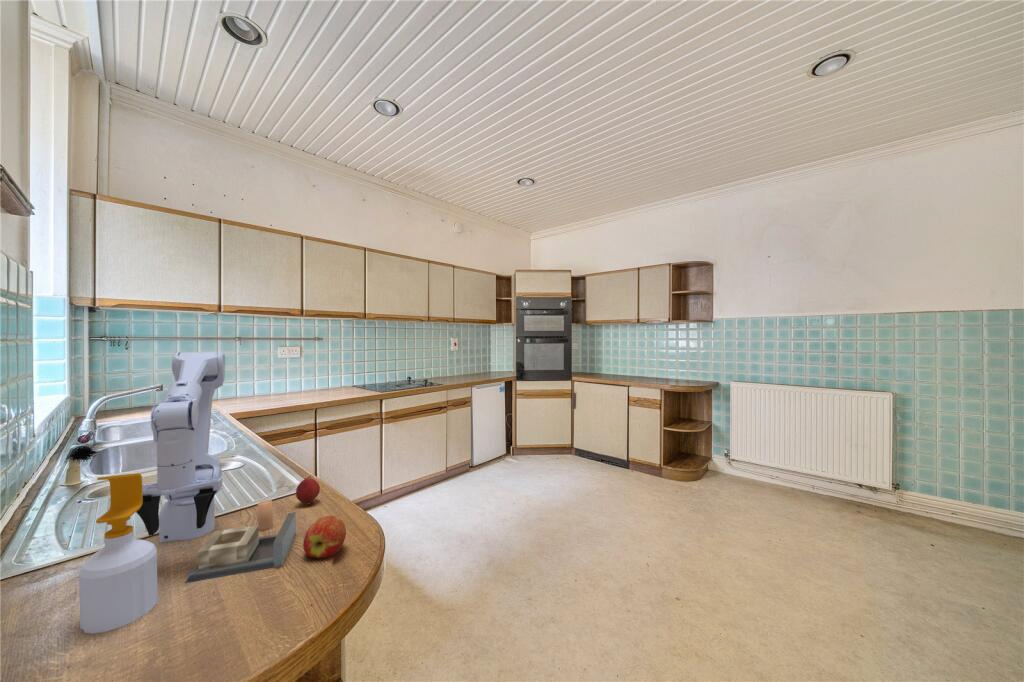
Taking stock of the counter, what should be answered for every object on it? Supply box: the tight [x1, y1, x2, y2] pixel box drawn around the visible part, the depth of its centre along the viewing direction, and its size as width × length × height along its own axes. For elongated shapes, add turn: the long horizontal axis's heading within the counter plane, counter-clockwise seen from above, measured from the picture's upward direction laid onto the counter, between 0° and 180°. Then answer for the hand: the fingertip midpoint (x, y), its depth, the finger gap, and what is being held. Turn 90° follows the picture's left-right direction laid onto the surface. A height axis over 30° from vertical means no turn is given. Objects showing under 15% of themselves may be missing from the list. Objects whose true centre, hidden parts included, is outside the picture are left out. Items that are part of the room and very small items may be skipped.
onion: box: [295, 474, 321, 505], centre depth 106 cm, size 6×6×8 cm
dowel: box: [257, 499, 274, 532], centre depth 91 cm, size 3×3×7 cm
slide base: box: [184, 512, 297, 584], centre depth 80 cm, size 16×13×6 cm
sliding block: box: [197, 524, 260, 570], centre depth 79 cm, size 8×8×4 cm
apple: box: [302, 515, 347, 560], centre depth 82 cm, size 8×8×8 cm
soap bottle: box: [78, 472, 159, 635], centre depth 64 cm, size 9×9×25 cm
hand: (177, 529), depth 76 cm, fingers open, 7 cm apart
